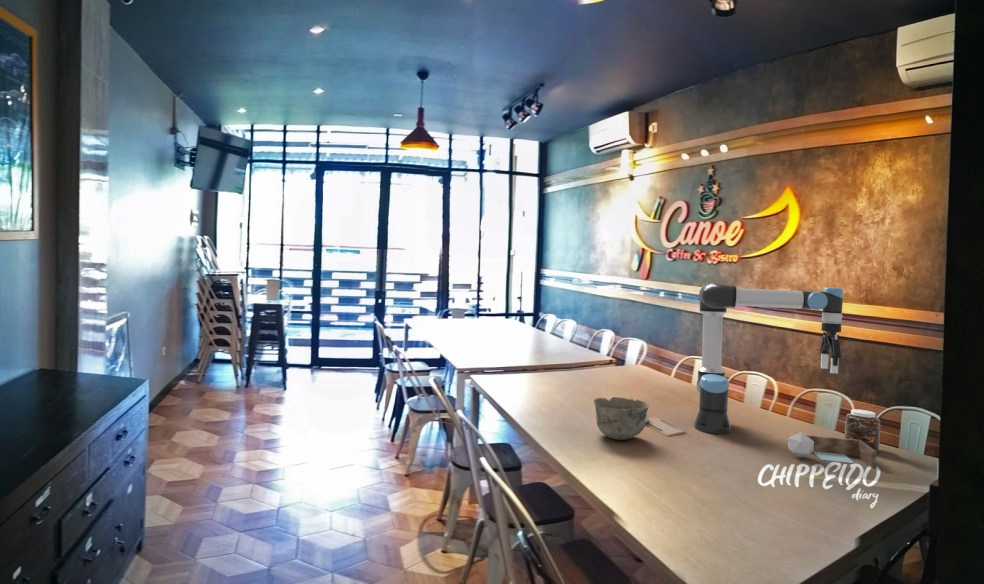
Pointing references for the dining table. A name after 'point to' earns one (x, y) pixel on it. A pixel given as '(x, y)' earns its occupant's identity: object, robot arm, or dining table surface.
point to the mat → (833, 457)
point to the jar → (863, 427)
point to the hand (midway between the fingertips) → (829, 370)
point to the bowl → (620, 417)
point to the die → (800, 444)
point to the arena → (845, 448)
